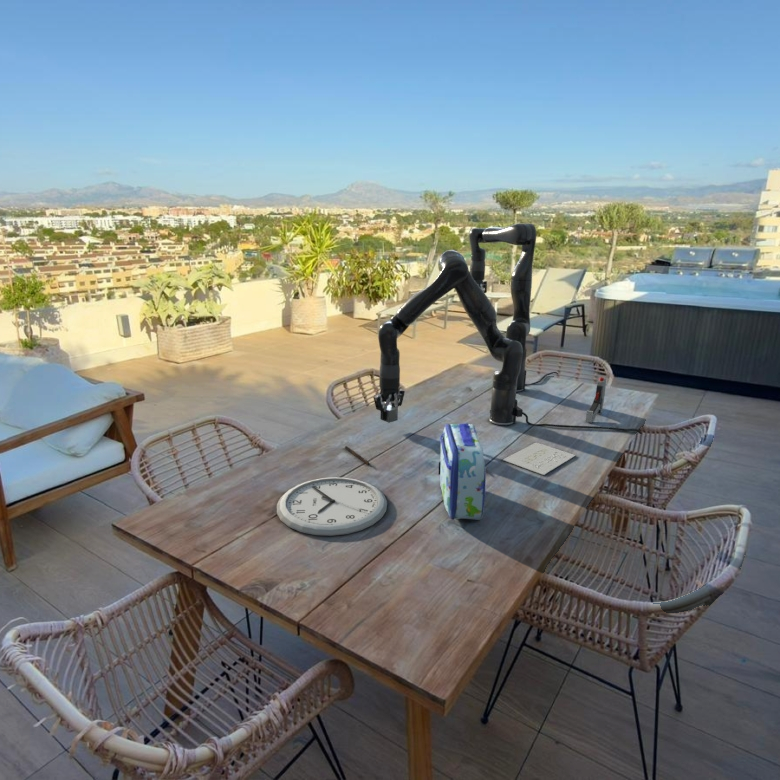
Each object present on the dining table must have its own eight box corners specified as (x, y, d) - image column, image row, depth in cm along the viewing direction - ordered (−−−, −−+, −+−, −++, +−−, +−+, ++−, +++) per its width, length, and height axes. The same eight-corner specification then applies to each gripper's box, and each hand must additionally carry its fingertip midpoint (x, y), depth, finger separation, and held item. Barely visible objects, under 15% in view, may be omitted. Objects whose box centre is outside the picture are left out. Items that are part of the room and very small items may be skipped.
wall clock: (392, 527, 129) (268, 531, 127) (391, 533, 130) (269, 537, 127) (383, 473, 158) (282, 475, 155) (383, 478, 158) (282, 480, 156)
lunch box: (436, 479, 158) (439, 414, 152) (472, 480, 158) (476, 415, 152) (443, 526, 133) (448, 451, 127) (486, 527, 133) (492, 452, 127)
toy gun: (589, 386, 202) (601, 375, 213) (585, 424, 208) (596, 411, 219) (595, 387, 201) (607, 376, 212) (591, 425, 207) (602, 412, 218)
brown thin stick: (344, 448, 179) (344, 445, 179) (346, 448, 179) (346, 445, 179) (367, 464, 167) (367, 462, 167) (368, 464, 167) (368, 461, 167)
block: (380, 419, 198) (380, 407, 197) (389, 416, 201) (389, 404, 199) (388, 423, 195) (389, 410, 193) (397, 420, 197) (397, 408, 196)
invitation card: (535, 442, 186) (575, 454, 176) (535, 442, 187) (575, 455, 176) (502, 459, 172) (543, 474, 162) (502, 460, 172) (543, 475, 162)
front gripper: (381, 380, 185) (380, 425, 190) (410, 374, 194) (409, 417, 199) (368, 376, 191) (367, 420, 196) (397, 370, 200) (396, 412, 205)
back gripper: (473, 271, 254) (471, 304, 259) (492, 269, 263) (489, 302, 268) (462, 269, 259) (460, 302, 264) (480, 268, 268) (478, 300, 273)
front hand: (388, 418), depth 198 cm, fingers closed on block, 4 cm apart
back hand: (475, 302), depth 266 cm, fingers open, 8 cm apart
